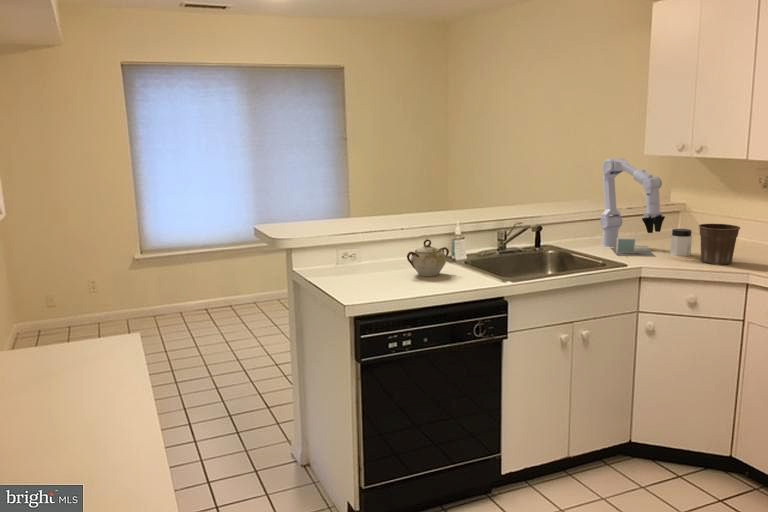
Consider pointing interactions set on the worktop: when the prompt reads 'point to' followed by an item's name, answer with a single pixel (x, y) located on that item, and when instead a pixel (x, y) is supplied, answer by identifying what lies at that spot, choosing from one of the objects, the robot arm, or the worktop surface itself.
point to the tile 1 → (625, 245)
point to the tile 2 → (642, 248)
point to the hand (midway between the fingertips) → (654, 232)
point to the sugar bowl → (428, 259)
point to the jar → (681, 242)
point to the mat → (637, 253)
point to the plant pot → (718, 243)
